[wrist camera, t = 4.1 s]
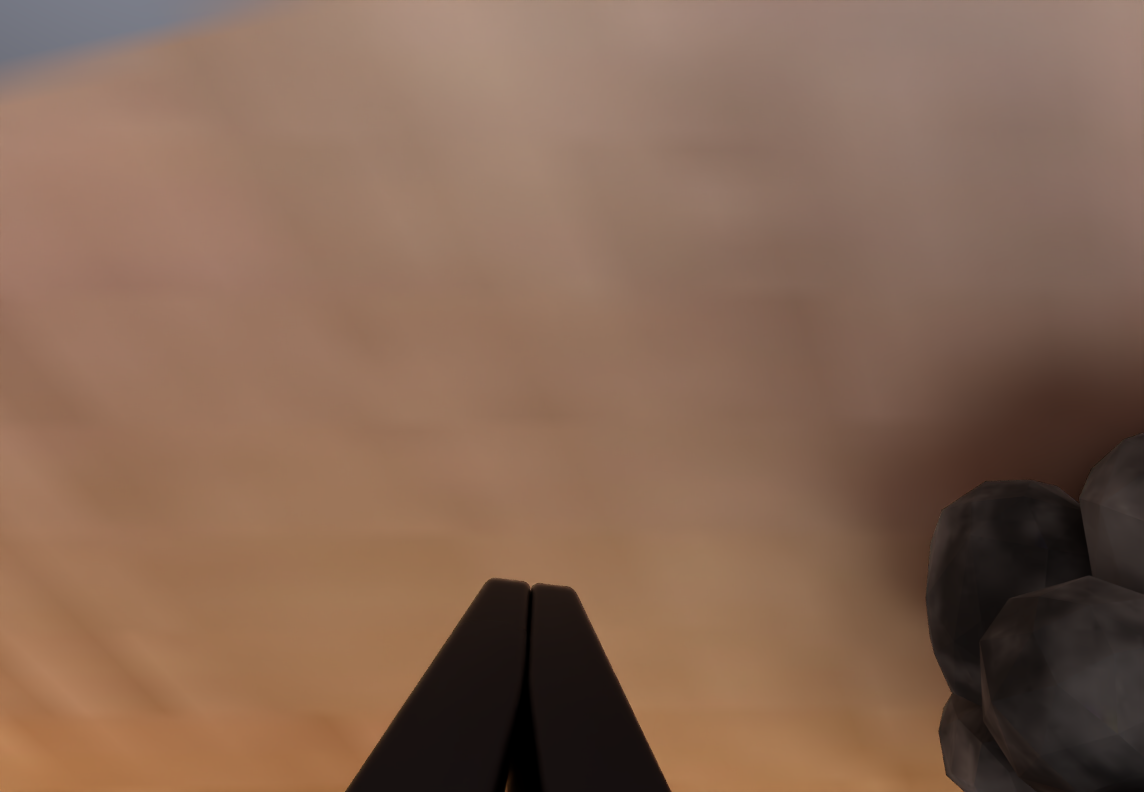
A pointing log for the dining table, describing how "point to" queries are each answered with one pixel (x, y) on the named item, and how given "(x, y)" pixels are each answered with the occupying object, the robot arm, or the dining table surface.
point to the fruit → (1043, 632)
